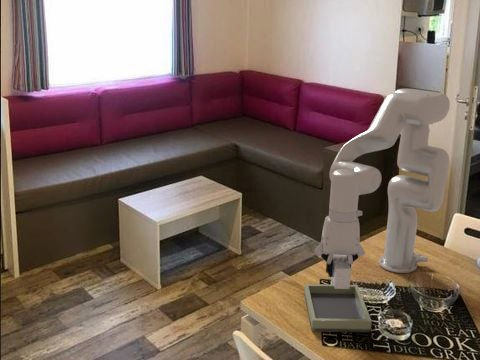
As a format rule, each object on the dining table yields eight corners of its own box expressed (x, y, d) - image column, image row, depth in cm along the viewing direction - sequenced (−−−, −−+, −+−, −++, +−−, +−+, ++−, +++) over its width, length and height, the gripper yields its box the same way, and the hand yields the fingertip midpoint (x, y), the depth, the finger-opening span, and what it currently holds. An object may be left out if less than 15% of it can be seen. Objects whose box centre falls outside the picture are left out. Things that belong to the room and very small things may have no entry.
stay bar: (340, 265, 168) (342, 246, 166) (349, 288, 155) (351, 268, 153) (327, 265, 168) (328, 246, 166) (334, 288, 155) (336, 268, 153)
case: (356, 295, 175) (357, 284, 173) (370, 332, 156) (371, 321, 155) (304, 294, 175) (304, 284, 173) (311, 331, 156) (312, 320, 154)
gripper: (370, 210, 159) (364, 269, 165) (310, 209, 159) (306, 268, 165) (376, 220, 152) (370, 282, 158) (313, 219, 152) (309, 280, 158)
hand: (337, 274), depth 161 cm, fingers closed on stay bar, 4 cm apart
